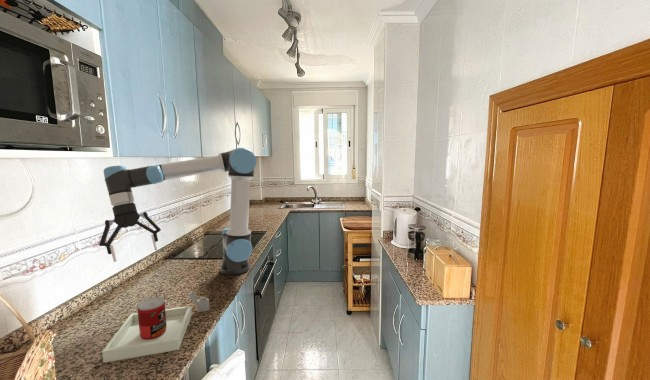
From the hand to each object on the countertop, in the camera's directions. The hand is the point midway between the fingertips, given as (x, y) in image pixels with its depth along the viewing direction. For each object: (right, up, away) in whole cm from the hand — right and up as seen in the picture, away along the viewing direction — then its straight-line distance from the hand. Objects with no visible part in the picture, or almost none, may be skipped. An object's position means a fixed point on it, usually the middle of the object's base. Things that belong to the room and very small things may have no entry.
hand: (136, 255), depth 107 cm
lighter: (+26, -21, -2) cm, 34 cm away
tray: (+17, -23, -17) cm, 33 cm away
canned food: (+17, -22, -16) cm, 33 cm away
